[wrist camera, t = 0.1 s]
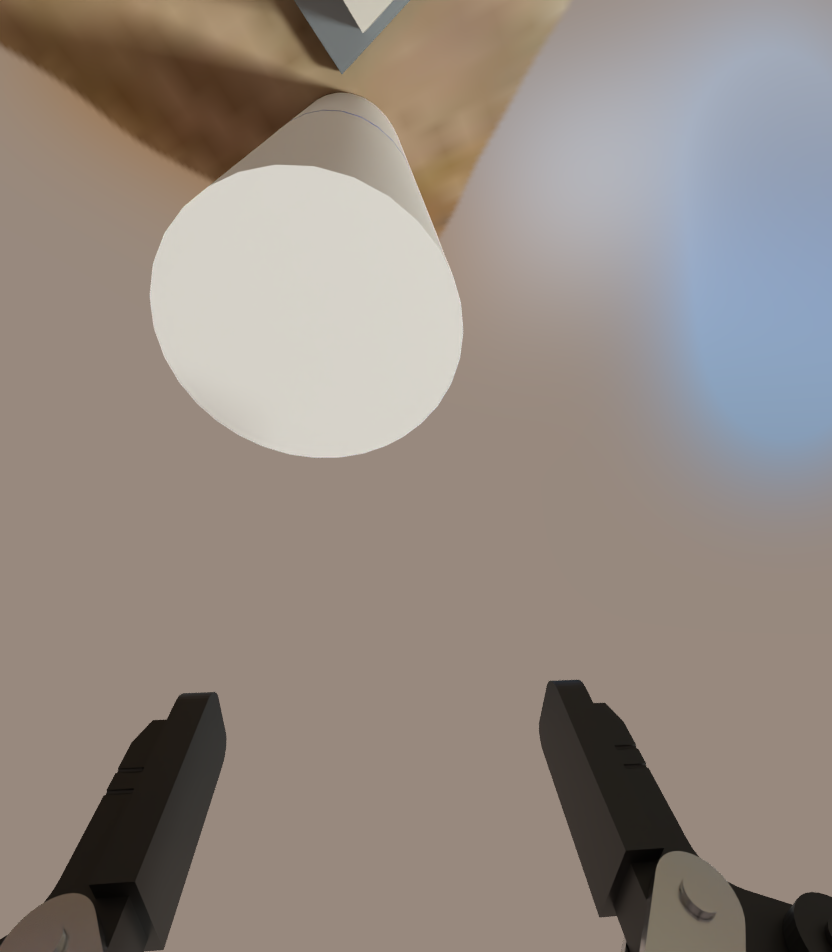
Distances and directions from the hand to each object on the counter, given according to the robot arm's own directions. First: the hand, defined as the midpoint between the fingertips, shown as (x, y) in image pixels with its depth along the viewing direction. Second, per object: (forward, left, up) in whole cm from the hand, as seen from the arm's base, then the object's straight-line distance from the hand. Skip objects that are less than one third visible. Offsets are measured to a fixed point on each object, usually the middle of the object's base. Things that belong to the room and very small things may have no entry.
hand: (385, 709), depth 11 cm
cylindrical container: (-5, +2, -31) cm, 32 cm away
